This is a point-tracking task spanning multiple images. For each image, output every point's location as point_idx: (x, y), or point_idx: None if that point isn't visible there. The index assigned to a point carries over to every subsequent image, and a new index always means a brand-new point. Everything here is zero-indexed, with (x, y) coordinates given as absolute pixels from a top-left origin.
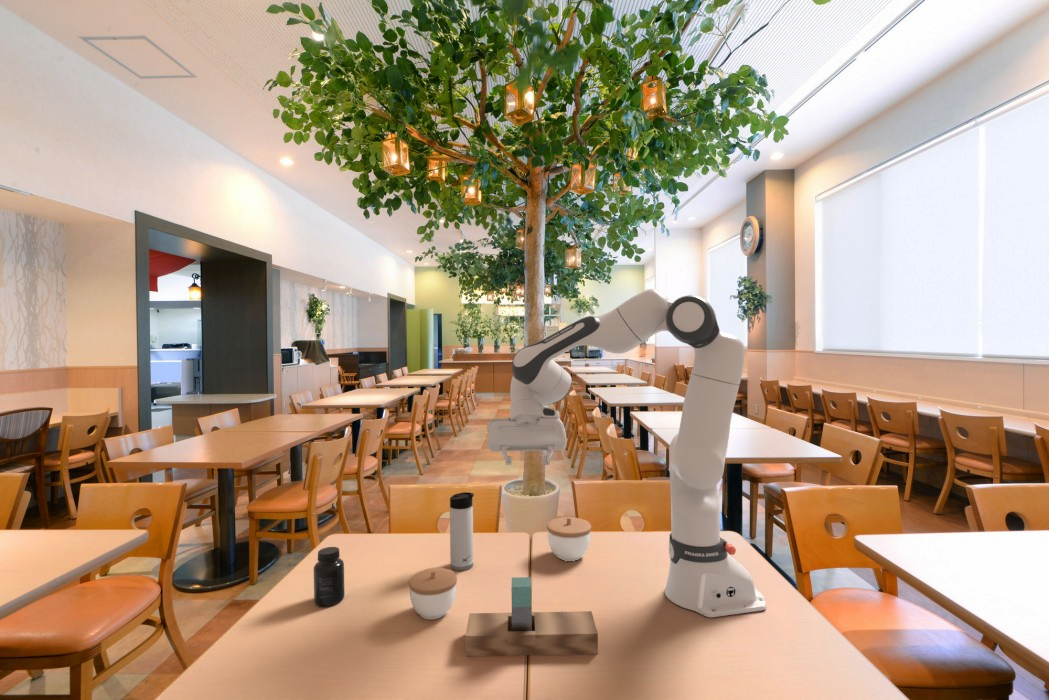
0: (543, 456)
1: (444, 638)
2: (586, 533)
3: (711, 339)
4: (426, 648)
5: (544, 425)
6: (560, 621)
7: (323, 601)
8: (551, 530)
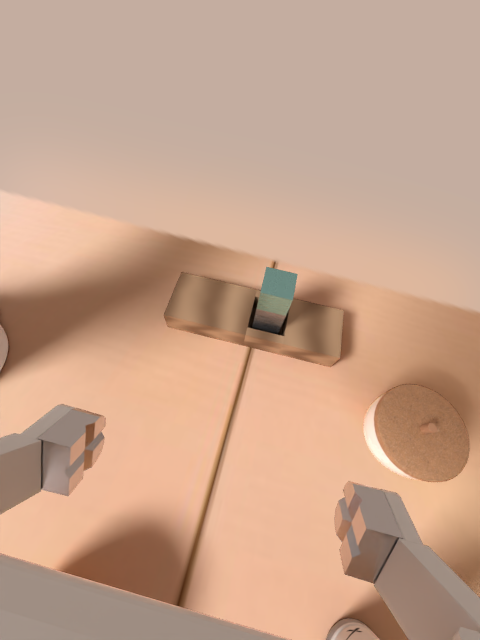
0: (73, 450)
1: (363, 362)
2: None
3: None
4: (383, 349)
5: None
6: (216, 305)
7: None
8: None
